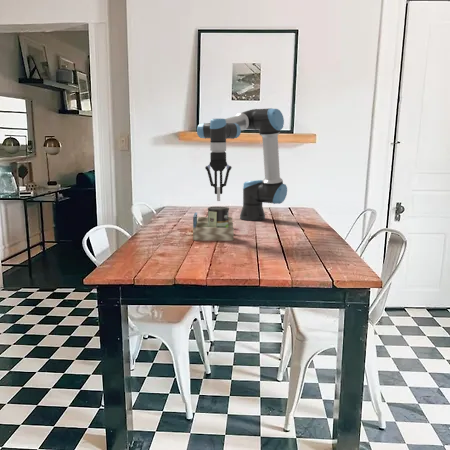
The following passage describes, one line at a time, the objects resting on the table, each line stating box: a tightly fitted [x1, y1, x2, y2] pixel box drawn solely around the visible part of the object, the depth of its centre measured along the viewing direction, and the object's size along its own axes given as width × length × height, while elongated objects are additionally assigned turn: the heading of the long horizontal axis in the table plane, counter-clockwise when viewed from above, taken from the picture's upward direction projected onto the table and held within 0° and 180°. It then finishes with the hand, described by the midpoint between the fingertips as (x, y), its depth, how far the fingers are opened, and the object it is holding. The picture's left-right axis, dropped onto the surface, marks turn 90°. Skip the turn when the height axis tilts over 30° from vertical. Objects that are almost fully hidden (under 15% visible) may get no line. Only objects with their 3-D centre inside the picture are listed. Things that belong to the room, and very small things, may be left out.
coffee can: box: [207, 206, 230, 228], centre depth 229 cm, size 10×10×14 cm
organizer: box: [192, 212, 235, 242], centre depth 237 cm, size 19×32×11 cm, turn 0°
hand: (218, 200), depth 228 cm, fingers closed
